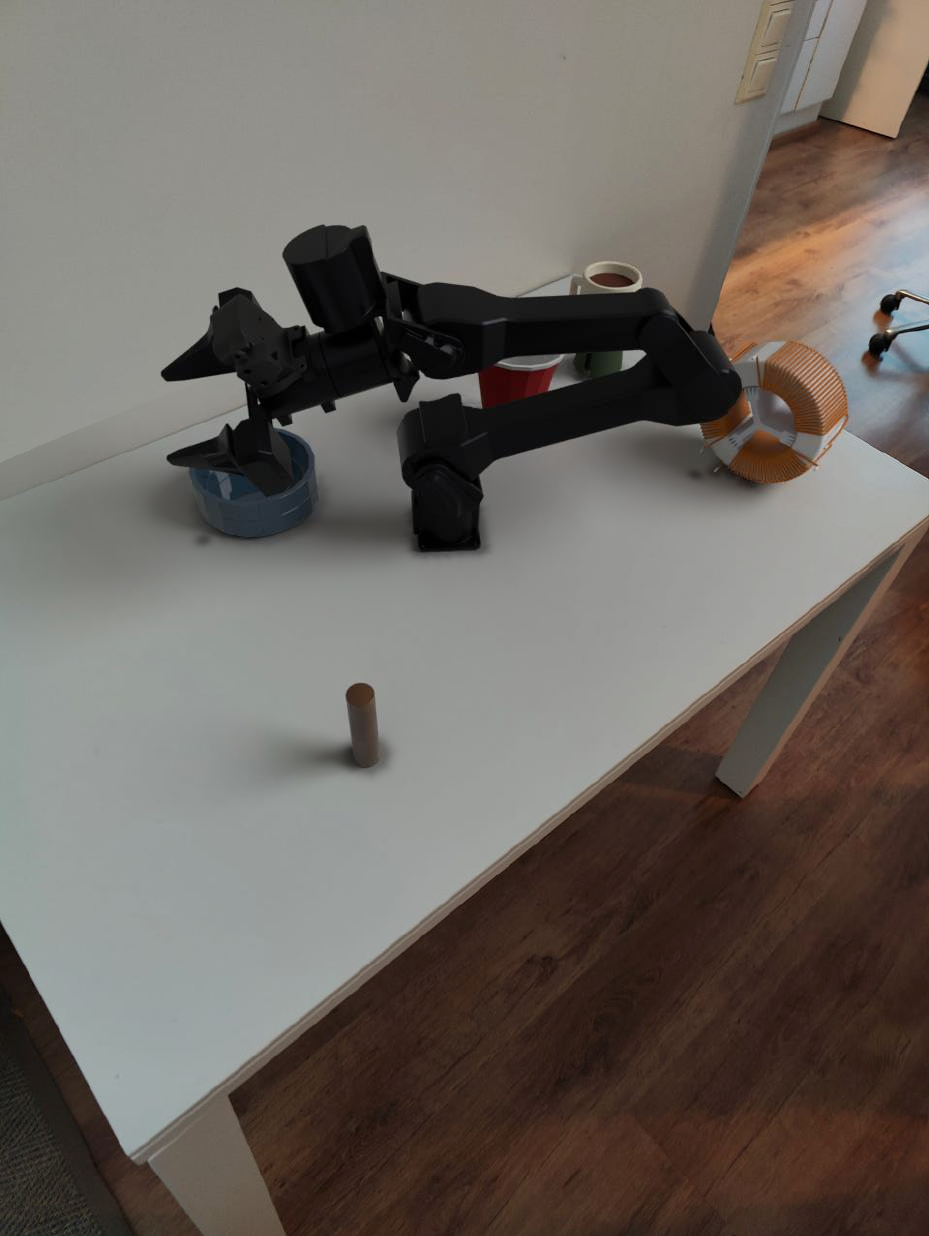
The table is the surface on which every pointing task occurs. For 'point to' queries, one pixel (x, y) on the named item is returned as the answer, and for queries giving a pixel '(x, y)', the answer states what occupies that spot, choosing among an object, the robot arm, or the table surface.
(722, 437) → the coil
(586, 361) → the character mug
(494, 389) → the plastic cup
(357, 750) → the brown cylindrical peg
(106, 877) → the table surface
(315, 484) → the bowl
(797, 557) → the table surface
